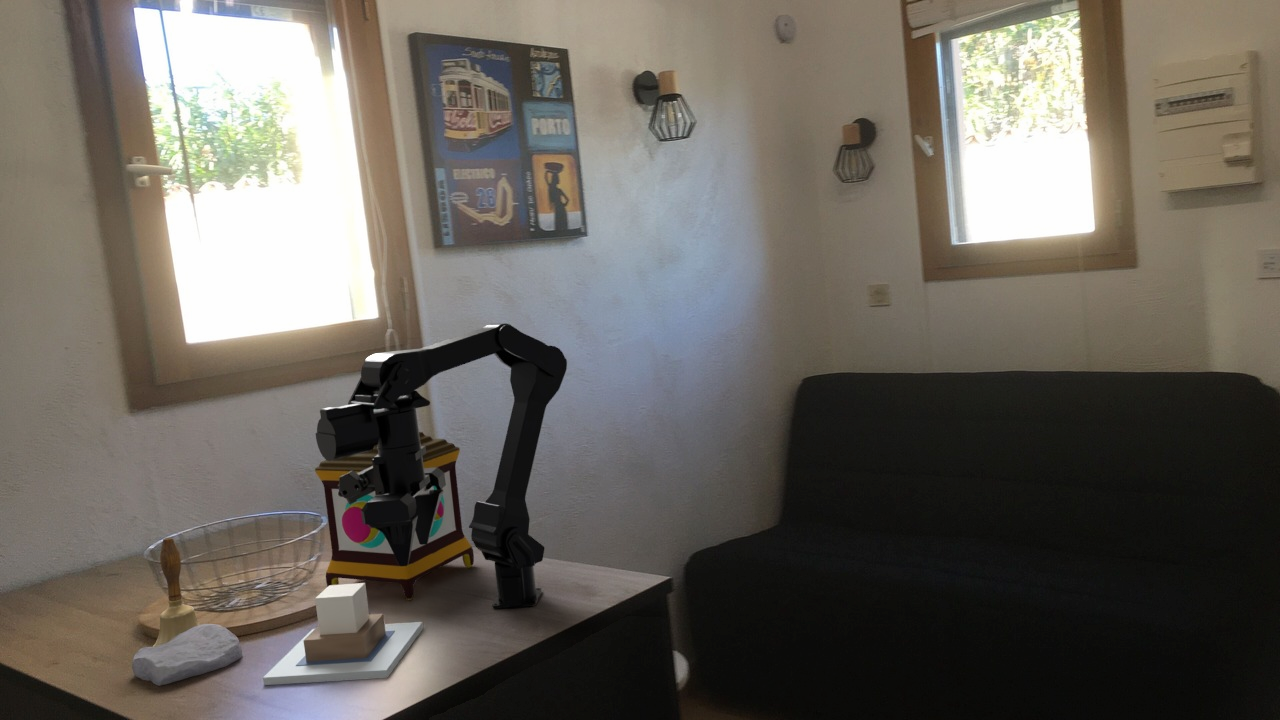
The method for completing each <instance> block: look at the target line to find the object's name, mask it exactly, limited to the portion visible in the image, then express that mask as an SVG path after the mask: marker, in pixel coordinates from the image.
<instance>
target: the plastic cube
mask: <svg viewBox="0 0 1280 720" xmlns="http://www.w3.org/2000/svg"><path fill="white" fill-rule="evenodd" d="M314 602H315V607H316V608H315V609H316V616H317V626H319V633H320V635H327V634H342V633H357V632H358V631H359V630H360V628H361V627H362V626H363V625H364V624H365V623H366V622H367V621H368V619H369V615H370V613H369V603H368V595H367V588H366V582H360V583H359V582H357V583H345V584H344V583H342V584H339V585H329V586H328V587H327V586H326V588H325V589H323V590H322V591H321V593H319V594H318V595H317V596H316V597H315V598H314Z"/></svg>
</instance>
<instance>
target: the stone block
mask: <svg viewBox="0 0 1280 720" xmlns="http://www.w3.org/2000/svg"><path fill="white" fill-rule="evenodd" d="M242 657H243V649H242V645H241V644H240V641H239V638H238V637H237V636H236V635H235V633H232V632H231V631H230V630H229V629H227V627H225V626H224V627H223V626H222V625H220V624H214V623H203V624H200V625H198V626H196V627H193V628H191V629H189V630H188V631H186V632H183V633H181V634H179V635H177V636H176V637H175V638H174V639H172V640H171V641H169V642H168V643H166V644H163V645H158V646H156V647H153V646H144V647H142V648H140V649H139V650H138V651H136V652H135V654H134V656H133V659H132V663H131V668H132V671H133V674H134V677H136V678H138V679H141V680H142V681H143V680H144V681H150V682H152V683H153V684H154V685H156V686H157V687H158V686H159V687H161V686H164V685H169V684H171V683H175V682H178V681H182V680H186V679H188V678H192V677H196V676H200V675H203V674H206V673H209V672H213V671H215V670H218V669H222V668H226V667H228V666H229V665H230V664H231V665H232V663H234V662H236V661H238V660H240V659H242Z"/></svg>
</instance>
